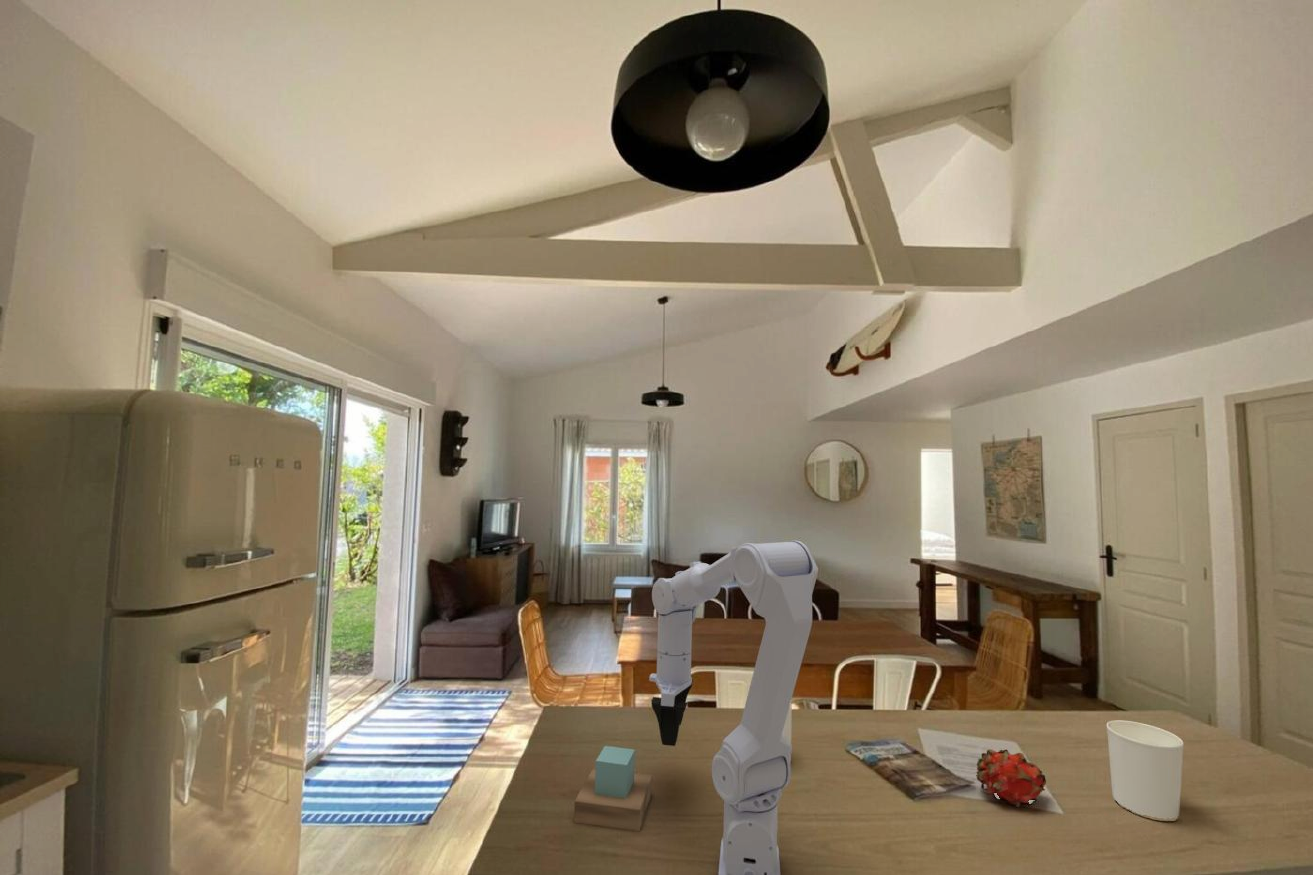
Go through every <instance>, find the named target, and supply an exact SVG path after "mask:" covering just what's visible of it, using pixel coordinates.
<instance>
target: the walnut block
mask: <svg viewBox="0 0 1313 875" xmlns="http://www.w3.org/2000/svg"><path fill="white" fill-rule="evenodd" d="M595 768H596V767H593V768H592V769H591V770H590V773H589V775H588V777H587V778H586V780H585V782H584V784H583V786H582V787H581V789H580V791H579V793H578V794H577V797H576V798H575V800H574V810H573V811H574V812H573V813H574V814H573V823H576V824H577V823H578V824H585V825H593V826H599V827H607V828H613V829H621V830H626V831H627V830H628V831H636V832H640V830H641V827H642V824H643V822H644V821H643V820H644V818H645V814H646V812H647V809H648V806H649V802H650V800H651V797H652V791H653V790H652V785H653V782H652V781H653V775H652V774H645V773H636V772H634V782H633V785H632V787H631V789H630V791H629V793H628V796H627V798H626V799H624V798H617V797H611V796H604V795H597V794H595Z"/></svg>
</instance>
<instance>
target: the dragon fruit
mask: <svg viewBox="0 0 1313 875" xmlns="http://www.w3.org/2000/svg"><path fill="white" fill-rule="evenodd" d="M976 766H977V769H976V770H977V771H975V772H976V776H975V777H976V779H977V781H978V782H979V783H981V785H980V787H981V789H982V791H983V792H985V793H989V794H993V793H997V795H998V796H999V798H1000V800H1001V798H1002V799H1005V800H1006V801H1008V803H1009V802H1010V803H1011V805H1014V807H1016V808H1017V807H1020V806H1021V805H1020V804H1021V803H1025V804H1027V803H1029V802H1028V801H1029V800H1036V801H1037V797H1038V796H1040V794H1041V793H1043V792H1044V791H1045V788H1044V787H1045V786H1046V784H1047V780H1046V776H1045V774H1043V771H1041V770H1042V769H1041V768H1039V767H1038V766H1037V764H1035V763H1032V762H1029V761H1028V760H1027V758H1026V757H1025V755H1024V754H1023V752H1022V753H1021V752H1016V753H1015V754H1011V753H1010V752H1009V750H1008V749H1000V750H999V751H995V750H994V749H990V748H989V749H987V750H986V752H982V753H981V758H978V760H977V761H976ZM985 785H986V787H987V788H985ZM1010 803H1009V804H1010Z"/></svg>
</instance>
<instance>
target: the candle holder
mask: <svg viewBox="0 0 1313 875" xmlns="http://www.w3.org/2000/svg"><path fill="white" fill-rule="evenodd" d="M1106 732H1107V744H1108V756H1109V757H1108V758H1109V759H1108V760H1109V769H1110V780H1111V782H1110V783H1111V791H1112V798H1114V799H1115V800H1116V801H1117V802H1118V803H1119V804H1121V805H1122V806H1124V807H1126V808H1127V809H1130V810H1132V811H1133V812H1136V813H1138V814H1141V815H1147V816H1151V817H1157V818H1163V819H1167V818H1169V819H1172V818H1175V817H1178V816H1179V817H1180V809H1181V808H1180V806H1181V791H1182V775H1183V774H1182V772H1183V756H1184V755H1183V754H1184V745H1185V744H1184V741H1183V740H1182V739H1181V737H1179V736H1177V735H1176V734H1174V733H1173V732H1170V731H1168V730H1166V729H1162V728H1160V727H1158V726H1154V725H1151V724H1146V723H1142V722H1136V721H1130V720H1122V719H1121V720H1120V719H1119V720H1117V719H1116V720H1110V721H1107V722H1106ZM1114 799H1113V800H1114ZM1179 817H1178V818H1179Z"/></svg>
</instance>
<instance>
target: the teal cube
mask: <svg viewBox="0 0 1313 875" xmlns="http://www.w3.org/2000/svg"><path fill="white" fill-rule="evenodd" d="M635 756H636V749H631V748H624V747H617V746H607V745H605V746H604V747H603V749H602V750H601V751H600V754H599V755H598V756H597V758H596V760H595V767H594V768H595V794H597V795H604V796H611V797H617V798H624V799H626V798H627V796H628V793H629V791H630V789H631V787H632V785H633V782H634V773H635V762H636V761H635V758H636V757H635Z"/></svg>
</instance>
